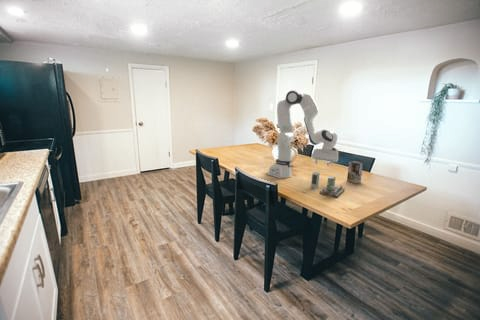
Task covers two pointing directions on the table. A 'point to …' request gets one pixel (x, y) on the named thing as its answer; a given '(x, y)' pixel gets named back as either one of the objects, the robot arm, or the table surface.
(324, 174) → the table surface
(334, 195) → the rail base
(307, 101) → the robot arm
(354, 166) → the coffee box
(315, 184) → the block
